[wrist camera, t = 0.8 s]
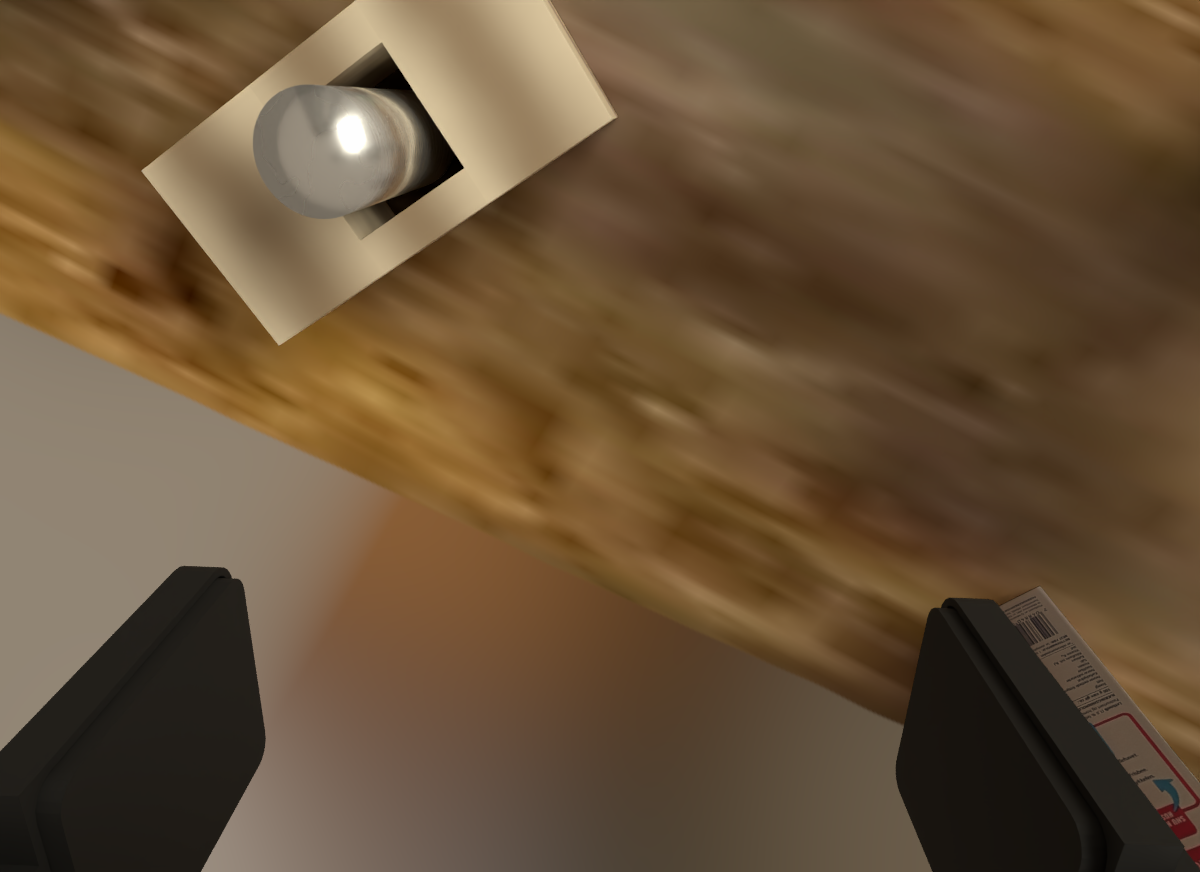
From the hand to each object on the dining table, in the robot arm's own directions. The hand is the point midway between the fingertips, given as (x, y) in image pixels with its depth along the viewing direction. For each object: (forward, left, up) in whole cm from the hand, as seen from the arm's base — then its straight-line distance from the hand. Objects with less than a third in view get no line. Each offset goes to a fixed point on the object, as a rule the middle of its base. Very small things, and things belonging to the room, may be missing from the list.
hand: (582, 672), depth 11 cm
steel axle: (+6, -10, -32) cm, 34 cm away
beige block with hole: (+6, -10, -32) cm, 34 cm away
